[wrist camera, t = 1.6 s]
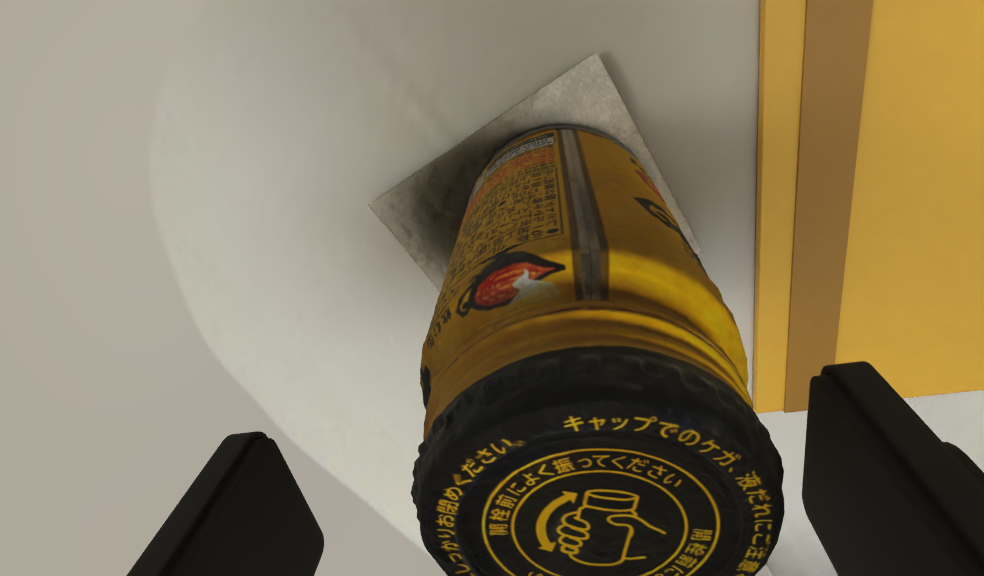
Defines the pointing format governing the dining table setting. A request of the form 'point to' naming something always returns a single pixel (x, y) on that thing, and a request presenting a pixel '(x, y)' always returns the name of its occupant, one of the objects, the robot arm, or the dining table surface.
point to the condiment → (577, 358)
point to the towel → (869, 195)
